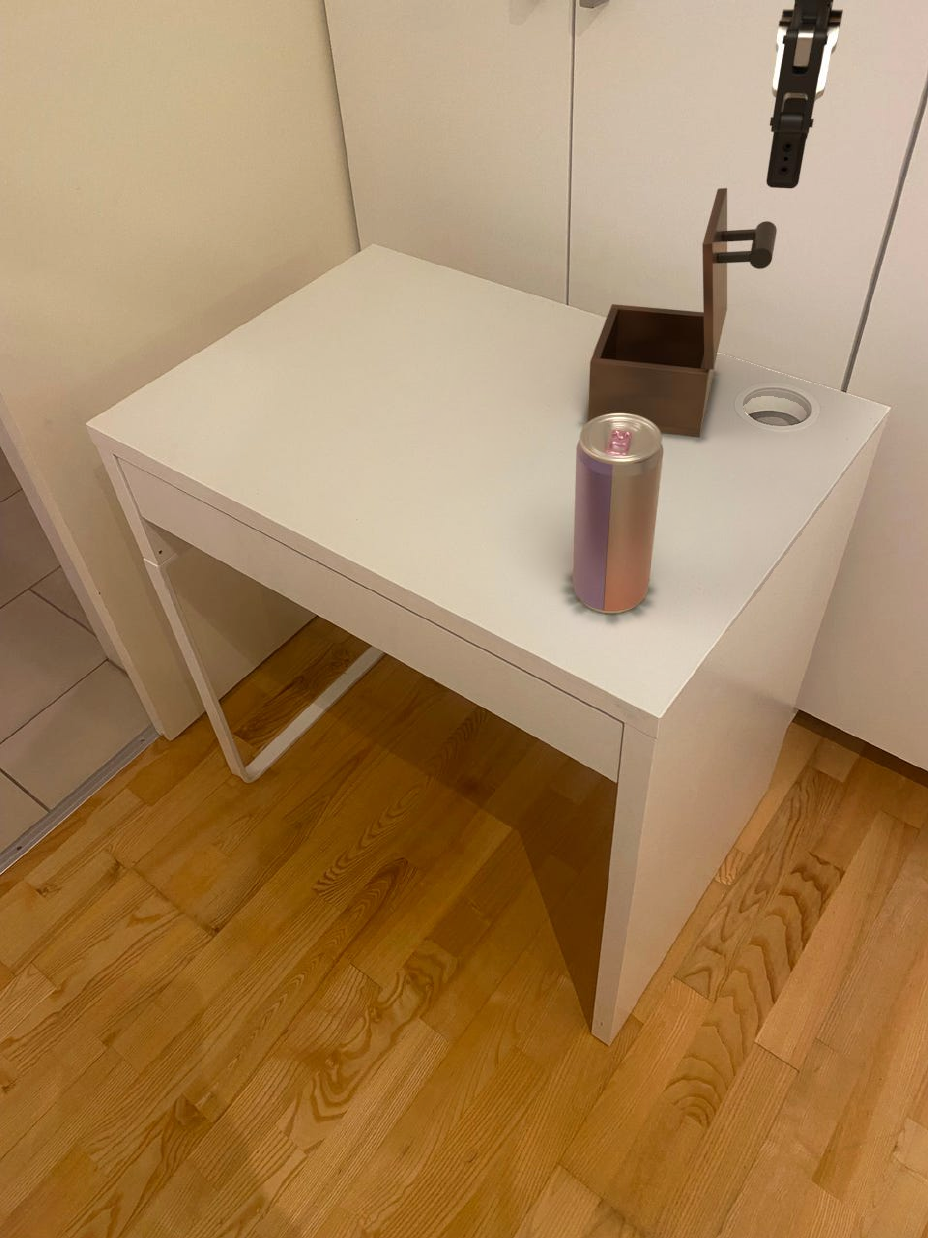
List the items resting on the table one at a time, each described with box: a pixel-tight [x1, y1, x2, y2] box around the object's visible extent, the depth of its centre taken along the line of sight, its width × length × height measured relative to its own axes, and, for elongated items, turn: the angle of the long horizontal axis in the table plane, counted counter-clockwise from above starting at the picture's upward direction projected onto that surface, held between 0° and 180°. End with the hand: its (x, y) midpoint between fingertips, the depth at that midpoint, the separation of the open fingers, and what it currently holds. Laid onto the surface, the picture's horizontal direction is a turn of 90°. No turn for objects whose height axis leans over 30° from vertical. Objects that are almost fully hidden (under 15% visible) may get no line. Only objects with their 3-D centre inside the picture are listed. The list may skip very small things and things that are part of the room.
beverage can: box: [572, 413, 664, 614], centre depth 71 cm, size 6×6×15 cm
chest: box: [587, 303, 715, 438], centre depth 91 cm, size 11×11×7 cm
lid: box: [701, 187, 778, 370], centre depth 83 cm, size 11×11×5 cm
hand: (786, 162), depth 71 cm, fingers open, 8 cm apart
